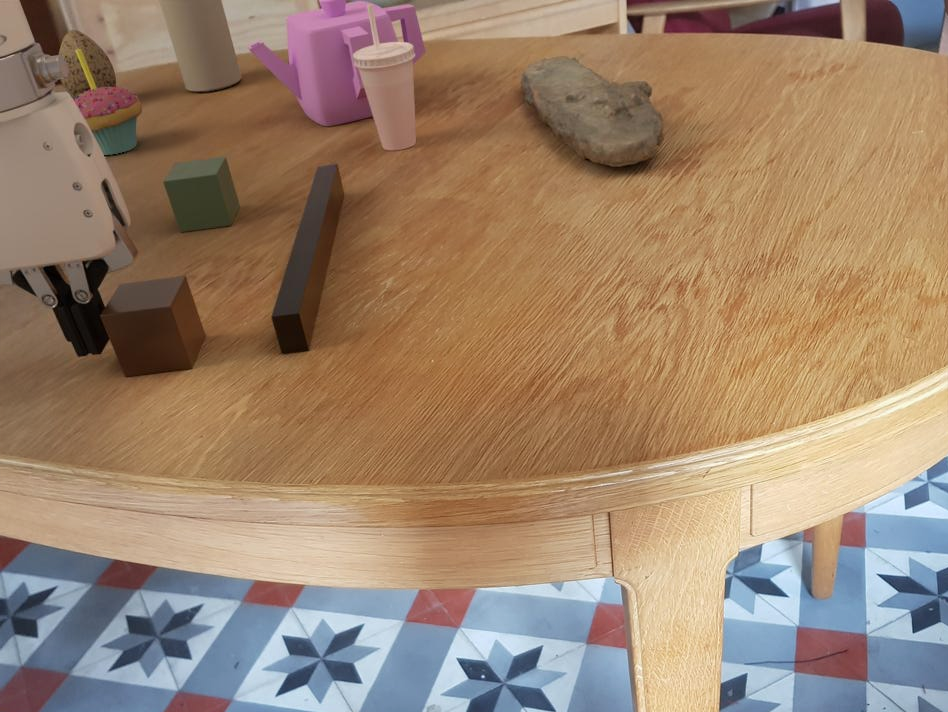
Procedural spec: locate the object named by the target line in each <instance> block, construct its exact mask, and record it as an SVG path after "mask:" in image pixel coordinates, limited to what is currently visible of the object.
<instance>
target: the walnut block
mask: <svg viewBox="0 0 948 712" xmlns="http://www.w3.org/2000/svg"><path fill="white" fill-rule="evenodd" d="M188 281H189V280H188V278H187V276H186V275H180V276H172V277H165V278H164V277H163V278H158V279H149V280H142V281H141V280H140V281H133V282H127V283H119V284H118V286H117V287H116V289H115V291H114V293H112V296H111V297H110V299H109V300H108V302H107V304H106V305H105V308H104V310H103V312H102V313H101V315H100V317H101V319H102V322H103V324H104V327H105V329H106V332H107V334H108V337H109V341H110V344H111V347H112V349H113V351H114V354H115V355H116V359H117V360H118V363H119V367H120V369H121V370H122V373H123V376H124V377H126V378H128V377H135V376H143V375H152V374H160V373H168V372H176V371H183V370H184V371H185V370H191V369H193V367H194V365H195V363H196V361H197V359H198V355H199V353H200V351H201V349H202V345H203V343H204V340H205V338H206V332H205V329H204V326H203V323H202V320H201V317H200V314H199V311H198V308H197V305H196V302H195V299H194V296H193V293H192V290H191V287H190V285H189V282H188Z"/></svg>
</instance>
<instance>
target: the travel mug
mask: <svg viewBox="0 0 948 712" xmlns="http://www.w3.org/2000/svg"><path fill="white" fill-rule="evenodd" d="M159 3H160V7H161V11H162V15H163V17H164V21H165V24H166V27H167V31H168V34H169V37H170V41H171V44H172V47H173V50H174V54H175V58H176V61H177V64H178V67H179V71H180V75H181V77H182V81H183V85H184V87H185V89H186V90H187V91H189V92H192V91H193V92H192V93H197V92H203V93H211V92H210V91H212V92H216V91H215V90H217V91H221V90H225V89H227V87H228V88H230V87H233V86H235V85H236V84H238V83H239V82H240V81H241V80H242V73H241V70H240V66H239V65H240V64H239V62H238V58H237V54H236V52H235V46H234V42H233V39H232V36H231V32H230V28H229V25H228V20H227V16H226V13H225V8H224V5H223V1H222V0H159ZM237 82H238V83H237ZM234 84H235V85H234ZM232 85H233V86H232ZM224 88H225V89H224ZM220 89H221V90H220Z"/></svg>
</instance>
